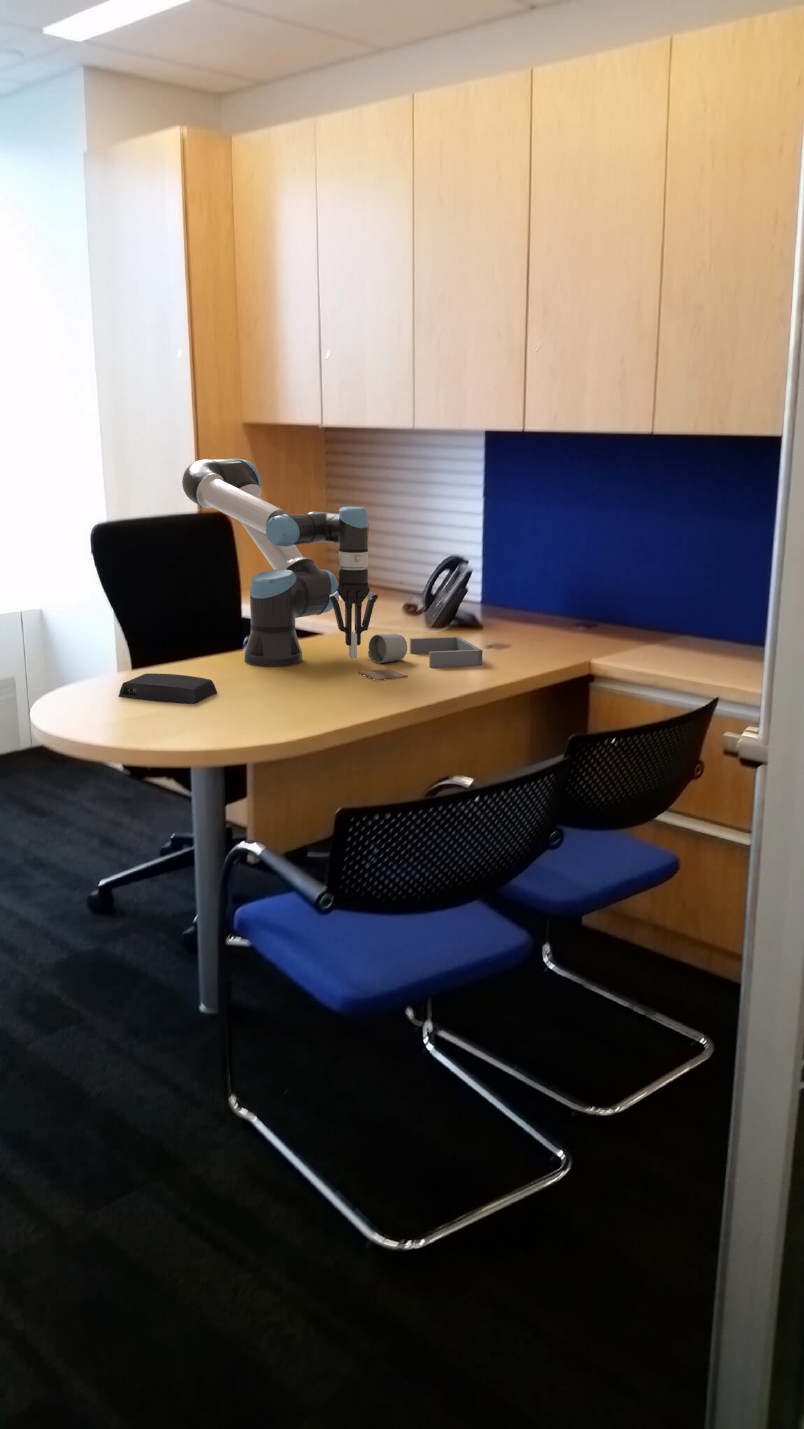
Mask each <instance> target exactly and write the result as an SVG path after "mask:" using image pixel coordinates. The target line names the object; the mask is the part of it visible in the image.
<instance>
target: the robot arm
mask: <svg viewBox="0 0 804 1429" xmlns="http://www.w3.org/2000/svg"><path fill="white" fill-rule="evenodd" d="M181 479H182V482H181V485H182V489H183V491H184V493H185V495H186V497H188V499H189V500H190V501H191V502H193V503H194V504H197V505H198V506H200V507H202V508H205V509H215V510H217V511H219V512H220V513H222V514H224V515H227V516H229V517H231V518H233V519H234V520H237V521H239V523H240V524H241V526H242V527H243V528H244V530H245V531H246V532H247V534H248V535H249V537H250V538H251V540H253V542H254V543H255V545H256V547H257V548H258V549H259V551H260V553H262V555H263V556H264V557H265V559H266V561H267V562H268V563H269V565H270V566H271V568H272V569H270V570H263V571H261V572H258V573H255V574H254V575H253V576H252V577H251V578H250V586H249V587H250V589H249V602H250V603H249V606H250V608H249V609H250V634H249V636H248V641H247V643H246V646H245V649H244V662H245V663H246V664H249V665H253V666H260V667H286V666H287V667H288V666H293V665H297V664H301V662H302V661H303V651H302V648H301V646H300V645H301V644H300V642H299V639H298V636H297V632H296V619H298V618H304V617H310V616H319V615H322V614H325V613H328V612H330V611H332V610H333V611H334V614H335V619H336V624H337V628H338V630H339V631H340V632H343V633H344V634H345V636H344V637H345V642H344V643H345V645H346V646H348V652H349V653H348V657H349V658H350V659H357V658H358V646H360V645H361V643H362V642H361V640H362V638H361V634H362V633H363V632H366V631H368V630H369V626H370V622H371V617H372V615H373V614H372V613H373V609H374V606H375V603H376V601H377V600H378V598H379V595H377V594H376V593H374V592H372V591H371V590H370V586H369V569H368V568H367V567H369V531H370V530H369V528H370V522H369V511H368V509H367V508H365V507H362V506H342V507H340V508H339V511H338V513H332V512H325V511H310V512H308V513H298V514H294V513H293V514H292V513H290V512H288V511H286V510H283V509H282V508H280V507H277V506H275V505H274V504H271V503H269V502H268V501H265V500H263V499H262V497H261V495H262V488H261V487H262V481H261V480H260V479H261V475H260V472H259V470H258V468H256V466H255V465H254V464H253V463H252V462H250V461H249V460H246V459H242V458H241V459H240V458H235V457H233V458H232V457H231V458H227V459H226V458H225V459H200V460H196V461H194V462H192V463H191V464H190V465H188V467H187V468H186V469H185V471H184V472H183V476H182V478H181ZM315 543H335V544H338V566H339V569H338V580H337V578H336V576H335V574H334V573H333V572H331V571H330V570H329V569H324V568H323V569H322V568H321V569H320V568H319V567H318V565H317V564H316V563H315V562H314V560H313V559H312V558H310V557H304V556H303V555H302V553H301V551H300V550H299V549H298V547H297V546H296V545H306V544H315ZM366 597H367V598H366ZM340 598H341V599H342V601H343V602H344V609H345V610H344V617H345V618H344V620H343V615H342V611H341V606H340V603H339V600H340ZM365 599H367V602H366V606H365V610H364V614H363V619H362V608H363V602H364V600H365ZM353 604H354V631H353V630H352V629H353V628H352V627H353V626H352V623H353V618H352V617H353Z"/></svg>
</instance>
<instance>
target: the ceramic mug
mask: <svg viewBox="0 0 804 1429" xmlns="http://www.w3.org/2000/svg"><path fill="white" fill-rule="evenodd" d="M407 651H408V642H407V641H406V639H405V637H404V636H402V634H399V633H377V634H374V635H372V637H371V638H370V639H369V642H368V651H367V655H368V658H370V659H371V660H372V661H373V662H374V663H376V664H385V663H389V662H396V661H397V662H398V661H400V660H402V659H404V657H405V656H406V655H407Z"/></svg>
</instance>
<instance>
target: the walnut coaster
mask: <svg viewBox="0 0 804 1429" xmlns="http://www.w3.org/2000/svg"><path fill="white" fill-rule="evenodd" d="M359 673H360V674H361V675H360V674H359ZM358 674H359V675H360V676H363V675H365V676H366V678H368V677H370V678H372V679H375V680H382V681H385V680H384V679H390V680H395V679H397V678H398V679H404V678H405V677H407V678H408V674H405V673H402V672H399V671H396V670H394V669H391V668H382V669H374V670H366V671H358ZM365 676H364V677H365ZM370 678H369V679H370ZM372 679H371V680H372ZM405 679H406V678H405ZM375 680H374V681H375Z"/></svg>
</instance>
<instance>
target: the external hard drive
mask: <svg viewBox="0 0 804 1429" xmlns="http://www.w3.org/2000/svg"><path fill="white" fill-rule="evenodd" d="M217 693H218V691H217V688H216V686H215V683H214V682H213V680H212V679H208V678H206V677H205V678H204V677H199V676H192V675H185V674H177V673H176V674H174V673H150V672H149V673H143V674H141V675H139V676H137V677H134V678H132V679H130V680H127V681H124V682H123V683H122V684H121V686H120V690H119V692H118V697H119V698H124V699H125V698H126V699H131V700H137V701H138V700H140V701H149V702H158V703H166V704H167V703H168V704H180V705H183V704H184V705H196V704H198V703H200V702H202V701H204V700H206V699H208V698H210V697H212V696H214V695H216V694H217Z"/></svg>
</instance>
